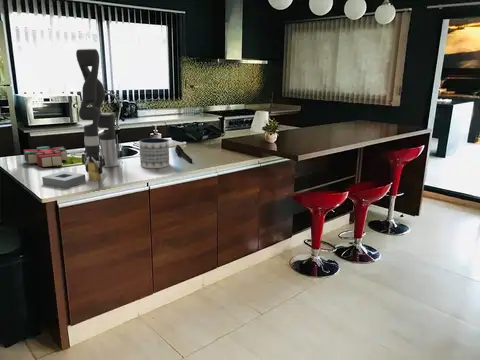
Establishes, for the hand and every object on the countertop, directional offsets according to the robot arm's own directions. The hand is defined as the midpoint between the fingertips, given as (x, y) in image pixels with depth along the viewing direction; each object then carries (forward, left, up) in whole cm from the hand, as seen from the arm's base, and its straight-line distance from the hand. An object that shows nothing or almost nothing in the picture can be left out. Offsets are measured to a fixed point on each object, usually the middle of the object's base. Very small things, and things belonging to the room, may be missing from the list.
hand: (94, 172), depth 217 cm
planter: (-43, +10, -4) cm, 45 cm away
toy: (-17, -55, -4) cm, 57 cm away
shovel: (-70, +15, -4) cm, 72 cm away
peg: (0, 0, -4) cm, 4 cm away
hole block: (+13, -9, -4) cm, 16 cm away
